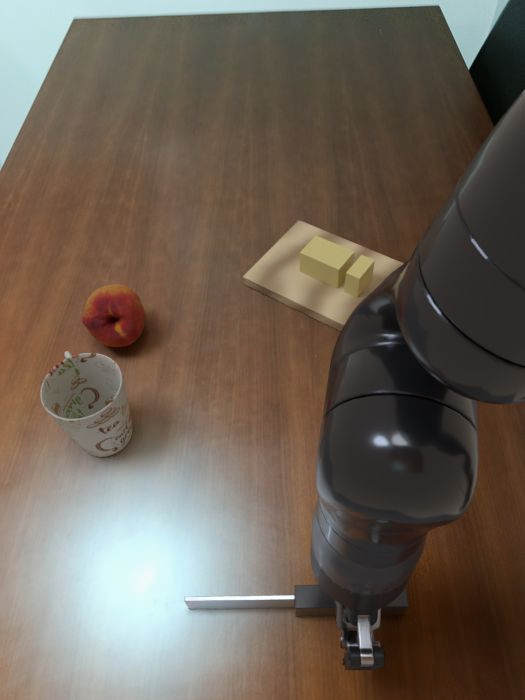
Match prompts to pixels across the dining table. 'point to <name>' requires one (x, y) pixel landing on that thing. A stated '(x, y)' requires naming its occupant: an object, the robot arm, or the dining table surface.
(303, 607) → the screwdriver
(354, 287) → the butter slice
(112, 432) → the mug
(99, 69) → the dining table surface
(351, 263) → the butter
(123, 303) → the fruit
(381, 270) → the board
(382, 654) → the robot arm
